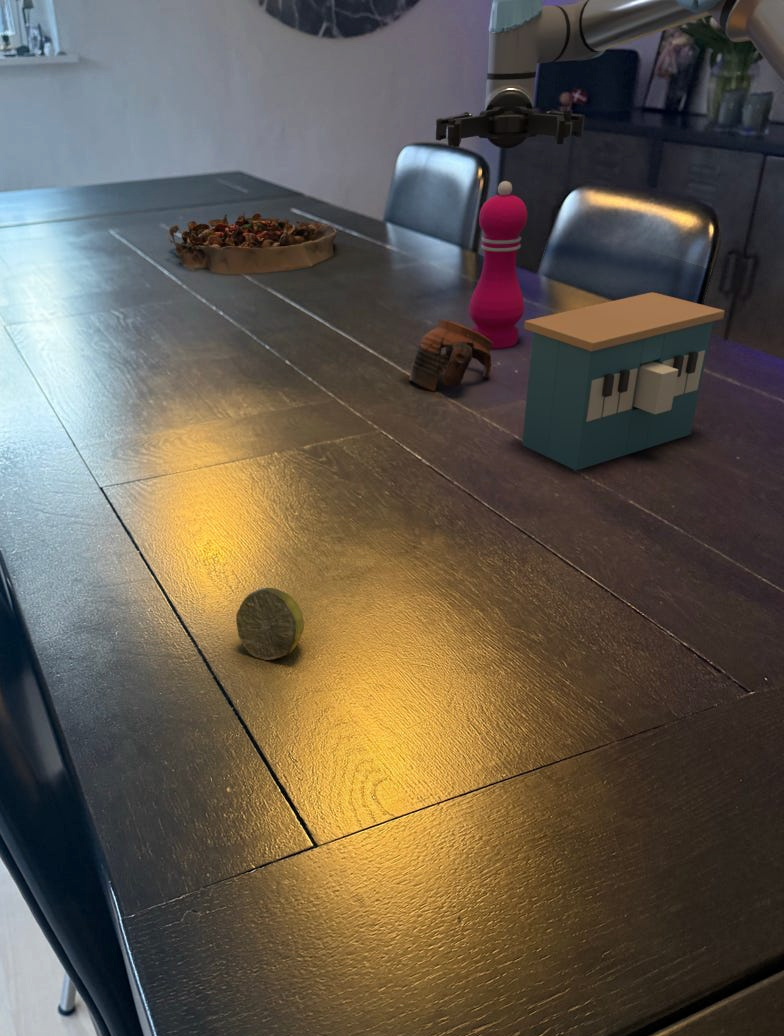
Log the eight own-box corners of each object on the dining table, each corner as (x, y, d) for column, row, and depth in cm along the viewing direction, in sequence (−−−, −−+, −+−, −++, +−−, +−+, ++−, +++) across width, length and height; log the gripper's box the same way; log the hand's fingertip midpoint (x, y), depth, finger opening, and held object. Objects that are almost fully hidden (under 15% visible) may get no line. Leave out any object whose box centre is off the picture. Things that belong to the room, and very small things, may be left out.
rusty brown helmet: (397, 377, 118) (424, 314, 116) (462, 406, 120) (491, 345, 118) (415, 382, 107) (447, 313, 104) (487, 415, 109) (519, 347, 106)
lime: (307, 664, 66) (304, 605, 63) (239, 670, 66) (233, 610, 63) (302, 630, 70) (299, 572, 67) (238, 635, 70) (232, 578, 67)
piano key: (671, 410, 90) (678, 369, 88) (655, 414, 89) (662, 373, 87) (638, 398, 93) (645, 358, 91) (622, 402, 92) (628, 362, 90)
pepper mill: (532, 342, 126) (547, 180, 115) (493, 353, 123) (505, 187, 111) (494, 331, 131) (506, 174, 120) (456, 341, 128) (464, 181, 116)
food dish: (169, 246, 195) (165, 205, 191) (325, 238, 197) (325, 198, 193) (167, 278, 165) (162, 231, 161) (350, 268, 168) (350, 222, 164)
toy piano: (699, 435, 97) (725, 310, 90) (575, 474, 90) (592, 342, 83) (633, 410, 104) (652, 291, 97) (513, 445, 97) (524, 320, 90)
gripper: (590, 143, 140) (602, 163, 123) (424, 147, 144) (413, 167, 127) (597, 85, 136) (610, 98, 119) (426, 92, 140) (414, 104, 123)
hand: (508, 134), depth 123 cm, fingers open, 13 cm apart
